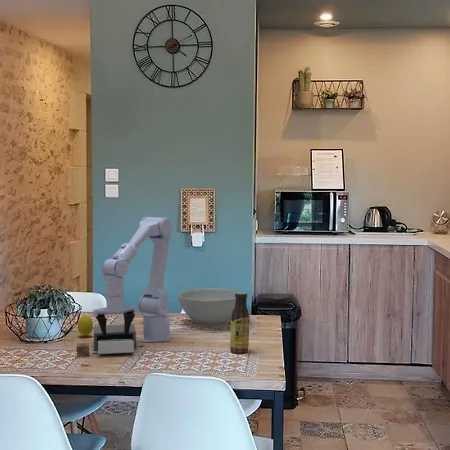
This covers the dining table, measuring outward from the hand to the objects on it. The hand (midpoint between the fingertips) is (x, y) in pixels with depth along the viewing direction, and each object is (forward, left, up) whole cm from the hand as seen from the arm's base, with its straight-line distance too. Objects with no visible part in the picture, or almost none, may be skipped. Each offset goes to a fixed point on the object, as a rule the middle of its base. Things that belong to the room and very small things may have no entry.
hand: (115, 335), depth 215 cm
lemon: (+10, -23, -6) cm, 26 cm away
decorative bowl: (-39, -34, -6) cm, 52 cm away
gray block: (0, -9, -6) cm, 11 cm away
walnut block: (+11, +2, -6) cm, 12 cm away
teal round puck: (0, 0, -4) cm, 4 cm away
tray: (0, 0, -5) cm, 5 cm away
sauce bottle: (-41, +7, -6) cm, 42 cm away
